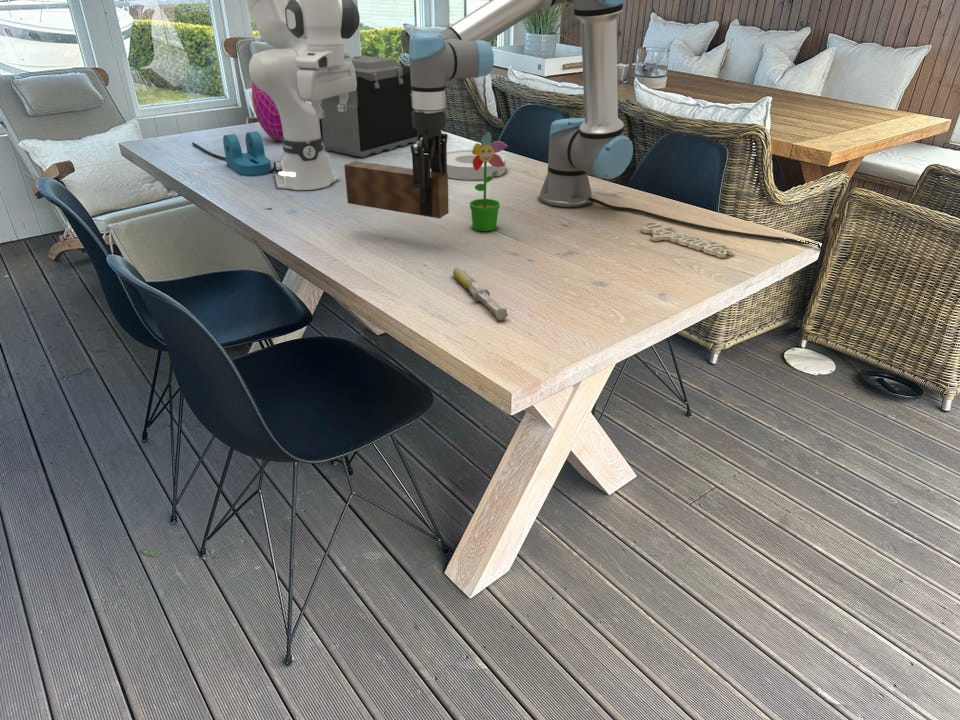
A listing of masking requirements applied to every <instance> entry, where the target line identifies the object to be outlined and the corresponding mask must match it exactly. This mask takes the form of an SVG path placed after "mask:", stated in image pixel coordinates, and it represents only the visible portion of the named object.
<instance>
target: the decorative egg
mask: <svg viewBox="0 0 960 720" xmlns="http://www.w3.org/2000/svg"><path fill="white" fill-rule="evenodd" d="M298 95H299V91H298ZM299 97H300V96H299ZM300 99H301V98H300ZM301 100H302V99H301ZM251 101H252V107H253V110H254V114H255V116H256V118H257V121H258V123H259V125H260V127H261V128H262V130H263V131H264V133H266V135H267V136H268V137H270V138H271V139H273V140H275V141H282V142H283V138H284V137H283V130H282V124H281V119H280V115H279V111H278V109H277V107H276V105H275V103H274V102H273V100H272V99H271V98H270V97H269V96H268V95H267V94H266V93H265V92H264V91H262V90H261V89H259V88H258V87H257V86H256V85H255V84H254V82H253V81H252V80H251ZM305 102H306V101H305Z"/></svg>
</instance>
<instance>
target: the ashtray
mask: <svg viewBox="0 0 960 720" xmlns="http://www.w3.org/2000/svg"><path fill="white" fill-rule="evenodd" d="M472 150H473V149H456V150H455V149H454V150H449V151H447V174H448V179H456V180H465V181H480V180H484V162H483V164H482V166H481V167H480V169H479V170H477V171H476V170H475V169H474V167H473V159H474V158H475V157H476V156H477V155H474V154H473V153H472ZM494 154H496V155H498V156H499V157H500V158H501V159H502V161H503V163H504V164H505V166H502V167H495V166H492V165H491V164H490V163H489V162H487V174H486V177H488V176H492V177H500V176H503V174H505V173H506V159H507V158H506V157H505V155H503V154H502V153H500V152H497V153H494Z"/></svg>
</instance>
